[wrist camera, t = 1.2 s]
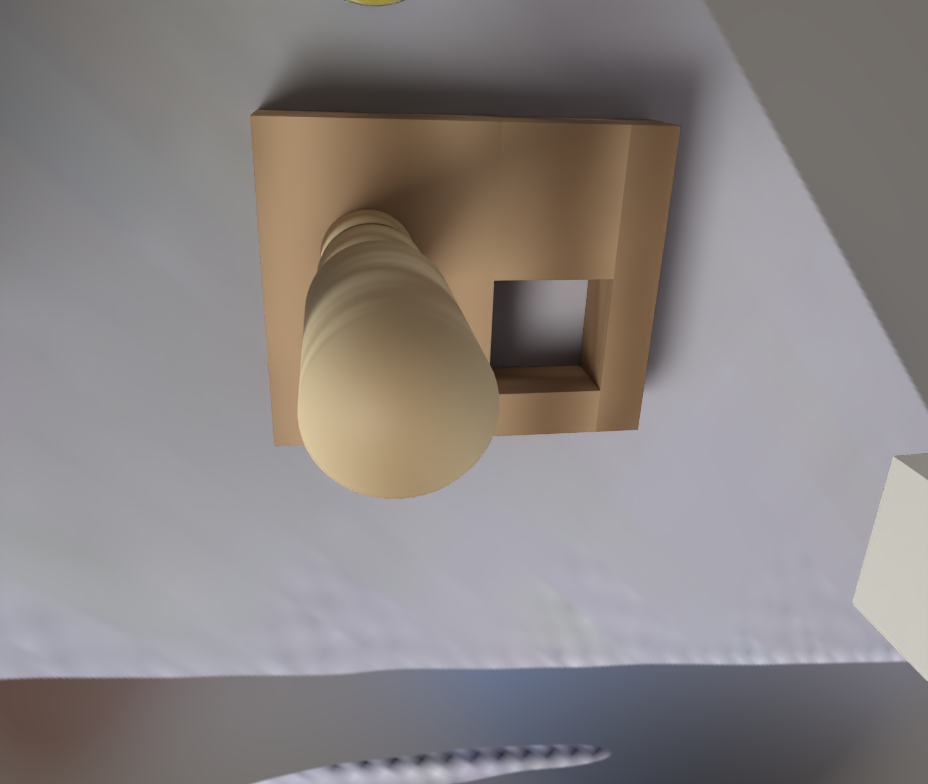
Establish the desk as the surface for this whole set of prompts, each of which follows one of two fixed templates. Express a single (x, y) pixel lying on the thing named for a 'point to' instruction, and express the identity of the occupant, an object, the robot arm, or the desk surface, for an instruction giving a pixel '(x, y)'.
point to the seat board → (479, 237)
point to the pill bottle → (374, 2)
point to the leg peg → (389, 366)
